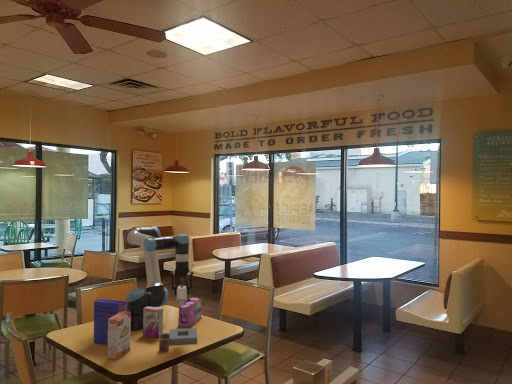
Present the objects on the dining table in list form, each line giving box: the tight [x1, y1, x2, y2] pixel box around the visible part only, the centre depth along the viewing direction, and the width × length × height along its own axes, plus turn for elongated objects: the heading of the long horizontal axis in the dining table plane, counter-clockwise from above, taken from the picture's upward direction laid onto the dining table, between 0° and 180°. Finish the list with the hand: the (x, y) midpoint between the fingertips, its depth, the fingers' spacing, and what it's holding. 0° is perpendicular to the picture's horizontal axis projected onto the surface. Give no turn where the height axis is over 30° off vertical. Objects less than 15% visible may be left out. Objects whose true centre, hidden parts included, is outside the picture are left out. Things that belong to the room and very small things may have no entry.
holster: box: [158, 332, 170, 352], centre depth 217 cm, size 5×10×6 cm, turn 10°
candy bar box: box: [142, 306, 164, 338], centre depth 236 cm, size 11×5×16 cm, turn 71°
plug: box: [177, 284, 187, 307], centre depth 230 cm, size 4×6×11 cm
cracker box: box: [106, 311, 131, 361], centre depth 207 cm, size 14×6×21 cm, turn 170°
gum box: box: [177, 296, 203, 328], centre depth 261 cm, size 24×8×14 cm, turn 167°
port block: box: [168, 327, 198, 345], centre depth 231 cm, size 16×16×3 cm
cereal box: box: [93, 298, 126, 346], centre depth 223 cm, size 17×5×24 cm, turn 76°
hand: (181, 300), depth 230 cm, fingers closed on plug, 4 cm apart
